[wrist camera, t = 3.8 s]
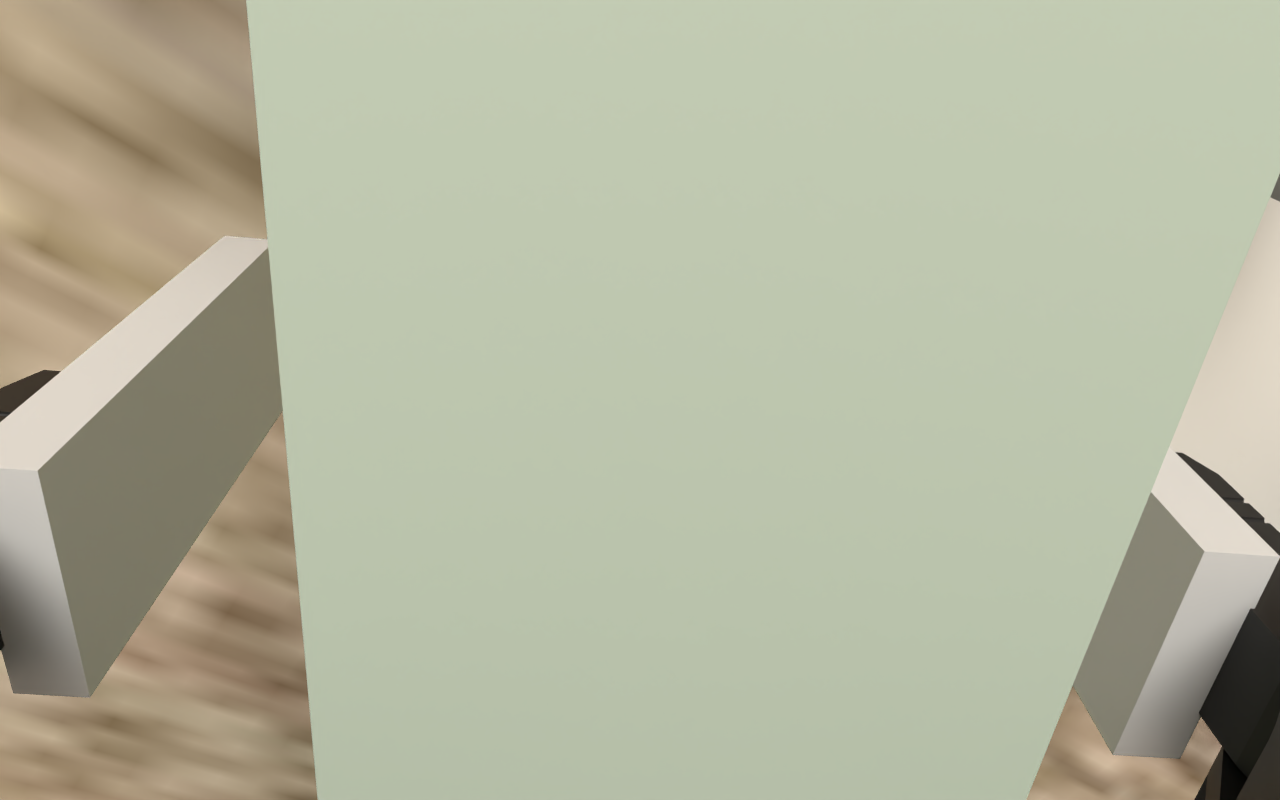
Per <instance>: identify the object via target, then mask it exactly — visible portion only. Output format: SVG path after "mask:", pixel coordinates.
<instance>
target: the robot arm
mask: <svg viewBox="0 0 1280 800" xmlns="http://www.w3.org/2000/svg"><path fill="white" fill-rule="evenodd" d="M282 411H283V407H282V396H281V384H280V373H279V362H278V351H277V340H276V329H275V317H274V306H273V295H272V284H271V273H270V262H269V250H268V239H258V238H246V237H234V236H223V237H222V238H221V239H220V240H218V241H217V242H216V243H215V244H214V245H212V246H211V247H210V248H209V249H208V250H206V251H205V252H204V253H203V254H202V255H200V256H199V257H198V258H197V259H196V260H194V261H193V262H192V263H191V264H190V265H188V266H187V267H186V268H185V269H184V270H182V271H181V272H180V273H179V274H178V275H176V276H175V277H174V278H173V279H172V280H170V281H169V282H168V283H167V284H166V285H164V286H163V287H162V288H161V289H160V290H158V291H157V292H156V293H155V294H154V295H152V296H151V297H150V298H149V299H148V300H146V301H145V302H144V303H143V304H142V305H140V306H139V307H138V308H137V309H136V310H134V311H133V312H132V313H131V314H130V315H128V316H127V317H126V318H125V319H124V320H122V321H121V322H120V323H119V324H118V325H116V326H115V327H114V328H113V329H112V330H110V331H109V332H108V333H107V334H106V335H104V336H103V337H102V338H101V339H100V340H98V341H97V342H96V343H95V344H94V345H92V346H91V347H90V348H89V349H88V350H86V351H85V352H84V353H83V354H82V355H80V356H79V357H78V358H77V359H76V360H74V361H73V362H72V363H71V364H70V365H68V366H67V367H66V368H65V369H64V370H62V371H49V370H43V371H40V372H38V373H36V374H33V375H31V376H29V377H26V378H24V379H21V380H19V381H17V382H14V383H12V384H10V385H7V386H5V387H3V388H1V389H0V650H1V651H2V655H3V658H4V662H5V665H6V669H7V672H8V676H9V679H10V683H11V687H12V690H13V693H18V694H36V695H54V696H72V697H89V698H90V697H91V695H92V694H93V692H94V691H95V689H96V688H97V686H98V685H99V683H100V682H101V680H102V679H103V677H104V676H105V674H106V673H107V671H108V670H109V668H110V667H111V665H112V664H113V662H114V661H115V660H116V658H117V657H118V655H119V654H120V652H121V651H122V649H123V648H124V646H125V645H126V643H127V642H128V640H129V639H130V637H131V636H132V634H133V633H134V631H135V630H136V628H137V627H138V625H139V624H140V622H141V621H142V619H143V618H144V616H145V615H146V613H147V612H148V610H149V609H150V607H151V606H152V604H153V603H154V601H155V600H156V598H157V597H158V595H159V594H160V592H161V591H162V589H163V588H164V587H165V585H166V584H167V582H168V581H169V579H170V578H171V576H172V575H173V573H174V572H175V570H176V569H177V567H178V566H179V564H180V563H181V561H182V560H183V558H184V557H185V555H186V554H187V552H188V551H189V549H190V548H191V546H192V545H193V543H194V542H195V540H196V539H197V537H198V536H199V534H200V533H201V531H202V530H203V528H204V527H205V525H206V524H207V522H208V521H209V519H210V518H211V517H212V515H213V514H214V512H215V511H216V509H217V508H218V506H219V505H220V503H221V502H222V500H223V499H224V497H225V496H226V494H227V493H228V491H229V490H230V488H231V487H232V485H233V484H234V482H235V481H236V479H237V478H238V476H239V475H240V473H241V472H242V470H243V469H244V467H245V466H246V464H247V463H248V461H249V460H250V458H251V457H252V455H253V454H254V452H255V451H256V449H257V448H258V447H259V445H260V444H261V442H262V441H263V439H264V438H265V436H266V435H267V433H268V432H269V430H270V429H271V427H272V426H273V424H274V423H275V421H276V420H277V418H278V417H279V415H280V414H281V412H282ZM1264 519H1265V518H1264V517H1263V516H1262V515H1261V514H1260V513H1259V512H1258V511H1257V510H1256V509H1255V508H1253V507H1252V506H1251V505H1250V504H1249V503H1244V498H1243V497H1242V496H1241V495H1240V494H1239V493H1238V492H1237V491H1236V490H1235V489H1234V488H1233V487H1232V486H1231V485H1229V484H1228V483H1227V482H1226V481H1225V480H1224V479H1223V478H1222V477H1221V476H1220V475H1219V474H1217V473H1216V472H1214V471H1212V470H1211V469H1209V468H1207V467H1205V466H1204V465H1202V464H1200V463H1199V462H1197V461H1195V460H1194V459H1192V458H1190V457H1189V456H1187V455H1185V454H1184V453H1179V452H1174V451H1173V450H1172V449H1171V448H1170V447H1169V448H1168V451H1167V453H1166V456H1165V458H1164V461H1163V463H1162V466H1161V468H1160V471H1159V473H1158V476H1157V478H1156V481H1155V483H1154V485H1153V488H1152V490H1151V493H1150V495H1149V498H1148V500H1147V503H1146V505H1145V508H1144V510H1143V513H1142V515H1141V518H1140V520H1139V523H1138V525H1137V527H1136V530H1135V532H1134V535H1133V537H1132V540H1131V542H1130V545H1129V547H1128V550H1127V552H1126V555H1125V557H1124V560H1123V562H1122V565H1121V567H1120V569H1119V572H1118V574H1117V577H1116V579H1115V582H1114V584H1113V587H1112V589H1111V592H1110V594H1109V597H1108V599H1107V602H1106V604H1105V607H1104V609H1103V611H1102V614H1101V616H1100V619H1099V621H1098V624H1097V626H1096V629H1095V631H1094V634H1093V636H1092V639H1091V641H1090V644H1089V646H1088V649H1087V651H1086V653H1085V656H1084V658H1083V661H1082V663H1081V666H1080V668H1079V671H1078V673H1077V676H1076V678H1075V681H1074V683H1073V687H1074V688H1075V690H1076V692H1077V694H1078V695H1079V697H1080V699H1081V701H1082V702H1083V704H1084V706H1085V707H1086V709H1087V711H1088V713H1089V714H1090V716H1091V718H1092V720H1093V721H1094V723H1095V725H1096V727H1097V728H1098V730H1099V732H1100V734H1101V735H1102V737H1103V739H1104V740H1105V742H1106V744H1107V746H1108V747H1109V749H1110V751H1111V753H1112V754H1113V755H1123V756H1141V757H1159V758H1176V759H1180V758H1181V756H1182V754H1183V752H1184V750H1185V748H1186V746H1187V744H1188V742H1189V739H1190V737H1191V735H1192V733H1193V731H1194V729H1195V727H1196V725H1197V723H1198V721H1199V719H1200V717H1202V719H1203V720H1204V721H1205V723H1206V724H1207V726H1208V727H1209V728H1210V730H1211V731H1212V733H1213V734H1214V735H1215V737H1216V738H1217V740H1218V741H1219V742H1220V744H1221V745H1222V748H1221V750H1220V752H1219V754H1218V755H1217V757H1216V759H1215V761H1214V763H1213V765H1212V767H1211V769H1210V771H1209V773H1208V775H1207V777H1206V778H1205V780H1204V782H1203V784H1202V786H1201V788H1200V790H1199V792H1198V794H1197V796H1196V798H1195V800H1280V532H1279V531H1278V530H1276V529H1275V528H1274V527H1273V526H1272V525H1271V524H1270V523H1265V522H1264Z"/></svg>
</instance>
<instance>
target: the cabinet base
mask: <svg viewBox="0 0 1280 800" xmlns="http://www.w3.org/2000/svg"><path fill="white" fill-rule="evenodd" d="M1169 447H1170V448H1171V449H1172V450H1173V451H1174V452H1179V453H1184V454H1185V455H1187V456H1189V457H1190V458H1192V459H1194V460H1195V461H1197V462H1199V463H1200V464H1202V465H1204V466H1205V467H1207V468H1209V469H1211V470H1212V471H1214V472H1216V473H1217V474H1219V475H1220V476H1221V477H1222V478H1223V479H1224V480H1225V481H1226V482H1227V483H1228V484H1229V485H1231V486H1232V487H1233V488H1234V489H1235V490H1236V491H1237V492H1238V493H1239V494H1240V495H1241V496H1242V497H1243V498H1244V503H1249V504H1250V505H1251V506H1252V507H1253V508H1255V509H1256V510H1257V511H1258V512H1259V513H1260V514H1261V515H1262V516H1263V517H1264V518H1265V519H1264V522H1265V523H1270V524H1271V525H1272V526H1273V527H1274V528H1275V529H1276V530H1278V531H1279V532H1280V174H1279V177H1278V179H1277V182H1276V184H1275V187H1274V189H1273V192H1272V194H1271V196H1270V199H1269V201H1268V204H1267V206H1266V209H1265V211H1264V214H1263V216H1262V219H1261V221H1260V224H1259V226H1258V229H1257V231H1256V234H1255V236H1254V238H1253V241H1252V243H1251V246H1250V248H1249V251H1248V253H1247V256H1246V258H1245V261H1244V263H1243V266H1242V268H1241V271H1240V273H1239V276H1238V278H1237V280H1236V283H1235V285H1234V288H1233V290H1232V293H1231V295H1230V298H1229V300H1228V303H1227V305H1226V308H1225V310H1224V313H1223V315H1222V317H1221V320H1220V322H1219V325H1218V327H1217V330H1216V332H1215V335H1214V337H1213V340H1212V342H1211V345H1210V347H1209V350H1208V352H1207V355H1206V357H1205V359H1204V362H1203V364H1202V367H1201V369H1200V372H1199V374H1198V377H1197V379H1196V382H1195V384H1194V387H1193V389H1192V392H1191V394H1190V397H1189V399H1188V401H1187V404H1186V406H1185V409H1184V411H1183V414H1182V416H1181V419H1180V421H1179V424H1178V426H1177V429H1176V431H1175V434H1174V436H1173V439H1172V441H1171V443H1170V446H1169Z"/></svg>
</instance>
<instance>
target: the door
mask: <svg viewBox="0 0 1280 800" xmlns="http://www.w3.org/2000/svg"><path fill="white" fill-rule="evenodd" d="M246 5H247V16H248V27H249V38H250V49H251V60H252V72H253V83H254V94H255V105H256V116H257V127H258V139H259V150H260V161H261V172H262V183H263V195H264V206H265V217H266V228H267V239H268V250H269V262H270V273H271V284H272V295H273V306H274V317H275V329H276V340H277V351H278V362H279V373H280V384H281V396H282V407H283V418H284V429H285V440H286V451H287V463H288V474H289V485H290V496H291V507H292V518H293V530H294V541H295V552H296V563H297V574H298V586H299V597H300V608H301V619H302V630H303V641H304V653H305V664H306V675H307V686H308V697H309V708H310V720H311V731H312V742H313V753H314V764H315V775H316V787H317V798H318V800H1026V799H1027V797H1028V794H1029V792H1030V789H1031V787H1032V784H1033V782H1034V779H1035V777H1036V774H1037V772H1038V770H1039V767H1040V765H1041V762H1042V760H1043V757H1044V755H1045V752H1046V750H1047V747H1048V745H1049V742H1050V740H1051V737H1052V735H1053V732H1054V730H1055V728H1056V725H1057V723H1058V720H1059V718H1060V715H1061V713H1062V710H1063V708H1064V705H1065V703H1066V700H1067V698H1068V695H1069V693H1070V691H1071V688H1072V686H1073V683H1074V681H1075V678H1076V676H1077V673H1078V671H1079V668H1080V666H1081V663H1082V661H1083V658H1084V656H1085V653H1086V651H1087V649H1088V646H1089V644H1090V641H1091V639H1092V636H1093V634H1094V631H1095V629H1096V626H1097V624H1098V621H1099V619H1100V616H1101V614H1102V611H1103V609H1104V607H1105V604H1106V602H1107V599H1108V597H1109V594H1110V592H1111V589H1112V587H1113V584H1114V582H1115V579H1116V577H1117V574H1118V572H1119V569H1120V567H1121V565H1122V562H1123V560H1124V557H1125V555H1126V552H1127V550H1128V547H1129V545H1130V542H1131V540H1132V537H1133V535H1134V532H1135V530H1136V527H1137V525H1138V523H1139V520H1140V518H1141V515H1142V513H1143V510H1144V508H1145V505H1146V503H1147V500H1148V498H1149V495H1150V493H1151V490H1152V488H1153V485H1154V483H1155V481H1156V478H1157V476H1158V473H1159V471H1160V468H1161V466H1162V463H1163V461H1164V458H1165V456H1166V453H1167V451H1168V448H1169V446H1170V443H1171V441H1172V439H1173V436H1174V434H1175V431H1176V429H1177V426H1178V424H1179V421H1180V419H1181V416H1182V414H1183V411H1184V409H1185V406H1186V404H1187V401H1188V399H1189V397H1190V394H1191V392H1192V389H1193V387H1194V384H1195V382H1196V379H1197V377H1198V374H1199V372H1200V369H1201V367H1202V364H1203V362H1204V359H1205V357H1206V355H1207V352H1208V350H1209V347H1210V345H1211V342H1212V340H1213V337H1214V335H1215V332H1216V330H1217V327H1218V325H1219V322H1220V320H1221V317H1222V315H1223V313H1224V310H1225V308H1226V305H1227V303H1228V300H1229V298H1230V295H1231V293H1232V290H1233V288H1234V285H1235V283H1236V280H1237V278H1238V276H1239V273H1240V271H1241V268H1242V266H1243V263H1244V261H1245V258H1246V256H1247V253H1248V251H1249V248H1250V246H1251V243H1252V241H1253V238H1254V236H1255V234H1256V231H1257V229H1258V226H1259V224H1260V221H1261V219H1262V216H1263V214H1264V211H1265V209H1266V206H1267V204H1268V201H1269V199H1270V196H1271V194H1272V192H1273V189H1274V187H1275V184H1276V182H1277V179H1278V177H1279V174H1280V0H246Z"/></svg>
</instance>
